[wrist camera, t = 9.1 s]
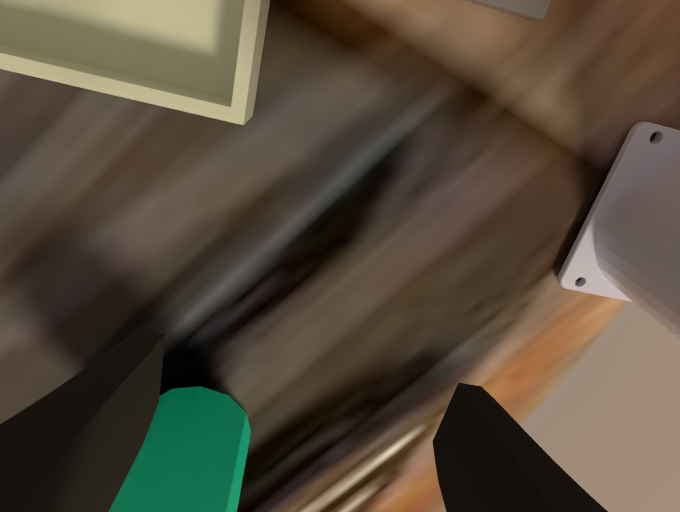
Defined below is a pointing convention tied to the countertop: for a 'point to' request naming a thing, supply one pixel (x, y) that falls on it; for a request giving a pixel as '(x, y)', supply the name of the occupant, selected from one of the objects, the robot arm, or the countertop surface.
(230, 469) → the candle
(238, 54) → the tray
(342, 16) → the countertop surface
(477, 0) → the fuse holder
